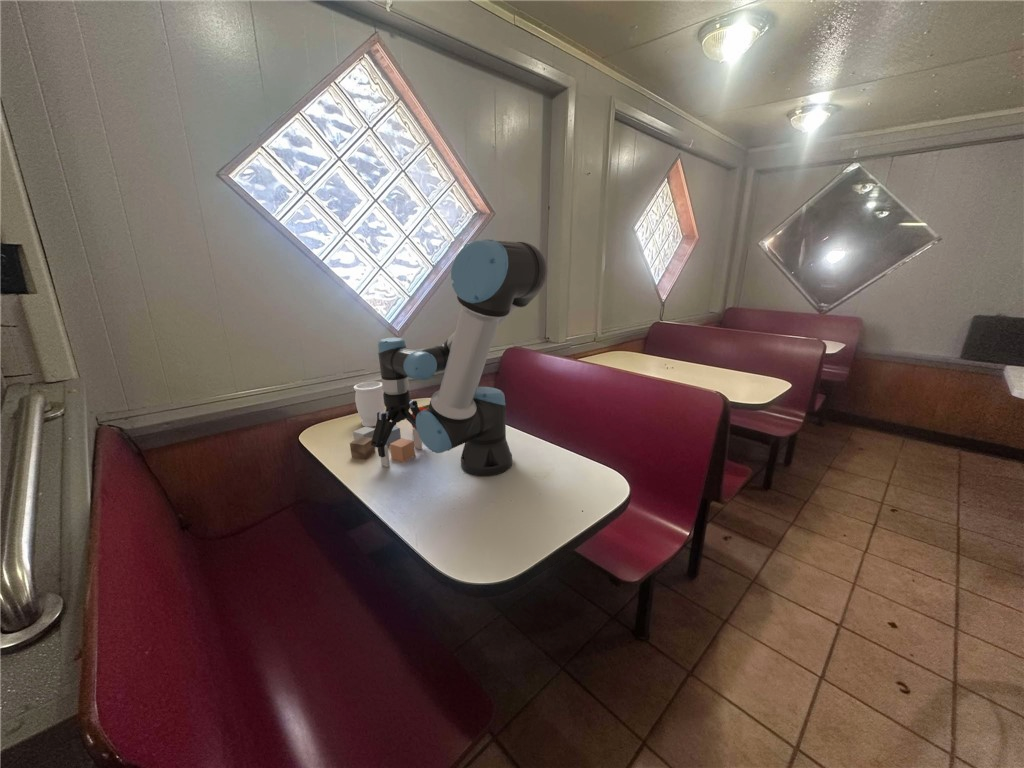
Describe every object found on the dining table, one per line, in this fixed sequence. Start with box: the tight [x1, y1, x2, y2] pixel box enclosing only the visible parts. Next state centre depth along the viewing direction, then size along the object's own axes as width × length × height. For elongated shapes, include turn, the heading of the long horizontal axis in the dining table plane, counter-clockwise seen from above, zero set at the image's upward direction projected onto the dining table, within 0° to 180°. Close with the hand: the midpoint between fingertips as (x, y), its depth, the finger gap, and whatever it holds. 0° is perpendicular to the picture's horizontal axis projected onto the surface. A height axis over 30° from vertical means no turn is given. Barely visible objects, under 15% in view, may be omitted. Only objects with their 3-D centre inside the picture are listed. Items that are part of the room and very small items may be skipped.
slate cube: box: [381, 425, 402, 447], centre depth 132 cm, size 5×5×5 cm
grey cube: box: [352, 426, 375, 441], centre depth 131 cm, size 5×5×5 cm
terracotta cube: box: [389, 437, 416, 463], centre depth 121 cm, size 5×5×5 cm
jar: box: [353, 381, 386, 428], centre depth 148 cm, size 11×10×15 cm
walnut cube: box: [349, 437, 376, 461], centre depth 123 cm, size 5×5×5 cm
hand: (402, 456), depth 122 cm, fingers open, 13 cm apart
